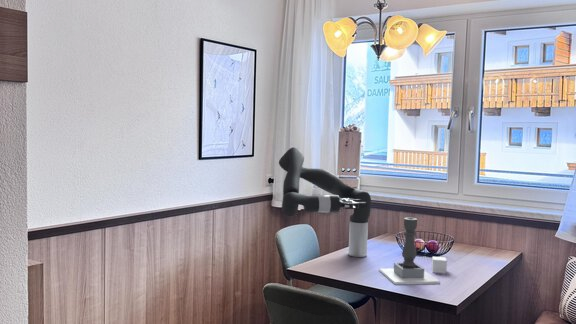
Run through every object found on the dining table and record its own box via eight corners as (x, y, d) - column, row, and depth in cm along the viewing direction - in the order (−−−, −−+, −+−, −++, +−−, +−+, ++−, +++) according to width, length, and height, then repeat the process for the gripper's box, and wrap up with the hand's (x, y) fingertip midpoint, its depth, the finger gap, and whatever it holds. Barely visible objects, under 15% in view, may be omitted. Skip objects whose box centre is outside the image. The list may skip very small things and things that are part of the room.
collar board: (379, 270, 238) (379, 260, 238) (420, 270, 241) (421, 259, 241) (394, 284, 218) (395, 272, 218) (439, 283, 221) (440, 272, 221)
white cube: (432, 272, 238) (433, 259, 238) (431, 269, 244) (432, 256, 243) (446, 273, 237) (447, 260, 236) (445, 270, 243) (445, 257, 242)
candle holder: (405, 277, 226) (407, 220, 224) (398, 273, 232) (400, 217, 230) (418, 276, 227) (420, 219, 225) (410, 272, 233) (413, 217, 231)
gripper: (332, 197, 219) (369, 197, 222) (324, 192, 233) (359, 192, 236) (331, 215, 220) (368, 214, 222) (323, 209, 234) (358, 208, 236)
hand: (363, 203), depth 229 cm, fingers open, 8 cm apart
